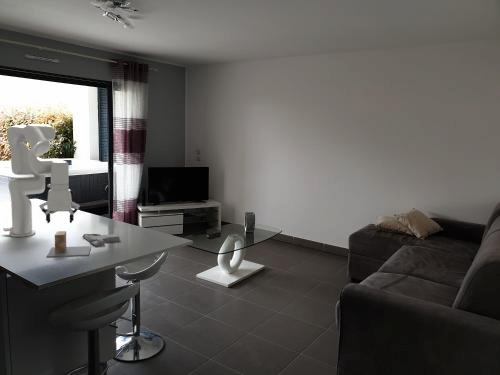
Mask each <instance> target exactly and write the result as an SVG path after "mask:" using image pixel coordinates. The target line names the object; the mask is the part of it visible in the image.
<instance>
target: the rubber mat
mask: <svg viewBox="0 0 500 375" xmlns="http://www.w3.org/2000/svg"><path fill="white" fill-rule="evenodd" d="M91 250H92V246H91V245H87V246H86V245H84V246H83V245H82V246H66V251H65V253H57V254H55V246H54V247H51V248H50V250H49V252H48V253H47V254H46V258H64V257H65V258H66V257H87V256H89V255H90V252H91Z"/></svg>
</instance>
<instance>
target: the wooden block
mask: <svg viewBox="0 0 500 375" xmlns="http://www.w3.org/2000/svg"><path fill="white" fill-rule="evenodd" d="M54 247H55V254H57V253H65V251H66V247H67V230H62V231H61V230H60V231H59V230H57V231H56V233H54Z"/></svg>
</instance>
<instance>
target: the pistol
mask: <svg viewBox="0 0 500 375" xmlns="http://www.w3.org/2000/svg"><path fill="white" fill-rule="evenodd" d="M81 237H82V238H83V239H85V240H87V241H88V242H89V244H90V245H93V246H95V247H103V246H105V243H115V242H117V243H118V242H120V236H119V235H118V233H112V234H99V233H84V234H83V235H82V236H81Z"/></svg>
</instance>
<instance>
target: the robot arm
mask: <svg viewBox="0 0 500 375" xmlns="http://www.w3.org/2000/svg"><path fill="white" fill-rule="evenodd" d="M6 138H7V141H8V142H7V143H8V144H9V148H10V163H11V164H10V165H11V171H12V173H13V174H14V175H17V176H21V177H14V178H12V179H11V180H9V182H8V189H9V195H10V204H11V226H10V227H9V226H8V227H6V226H4V227H3V231H4V232H8V236H10V237H11V238H12V237H14V238H23V237H25V238H26V237H29V236H33V235H35V234H36V230H34V229H33V212H32V211H33V209H32V205H33V204H32V201H31V199H30V198H29V197H28V196H29V195H37V194H38V195H39V194H42V193H44V192H45V190H46V186H47V188H50V189H49V190H48V192H47V201H46V202H43V203H40V205H39V208H40V210H41V212H42V213H44V215H45V221H46V222H47V224H49V223H51V212H68V213H69V223H70V224H72V223H73V222H74V214H76V213H77V211H79V209H80V206H81V205H80V204H79V203H76V202H74V201H73V200H72V193H71V189H70V188H69V187H70V186H69V182H70V181H69V178H70V177H69V176H70V174H69V172H70V170H69V169H70V168H69V163H68V161H66V160H63V159H60V158H40V157H39V156H42V155H44V154H46V153H47V152H49V150H50V149H51V144H50V142H53V141H54V140H55V139H56V131H55V129H54V128H53V126H52V125H49V124H39V123H38V124H37V123H36V124H35V123H30V124H27V125H11V126H9V127H8V129H7V130H6ZM26 143H28V145H29V147H30V149H29V147H28V145H27V144H26ZM28 175H29V176H28ZM30 175H31V176H30ZM32 175H33V176H32ZM48 175H49V176H50V183H48V184H46V176H48ZM22 176H24V177H22ZM27 195H28V196H27ZM45 207H47V209H46V208H45ZM72 207H75V208H74V209H73V208H72Z"/></svg>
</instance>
